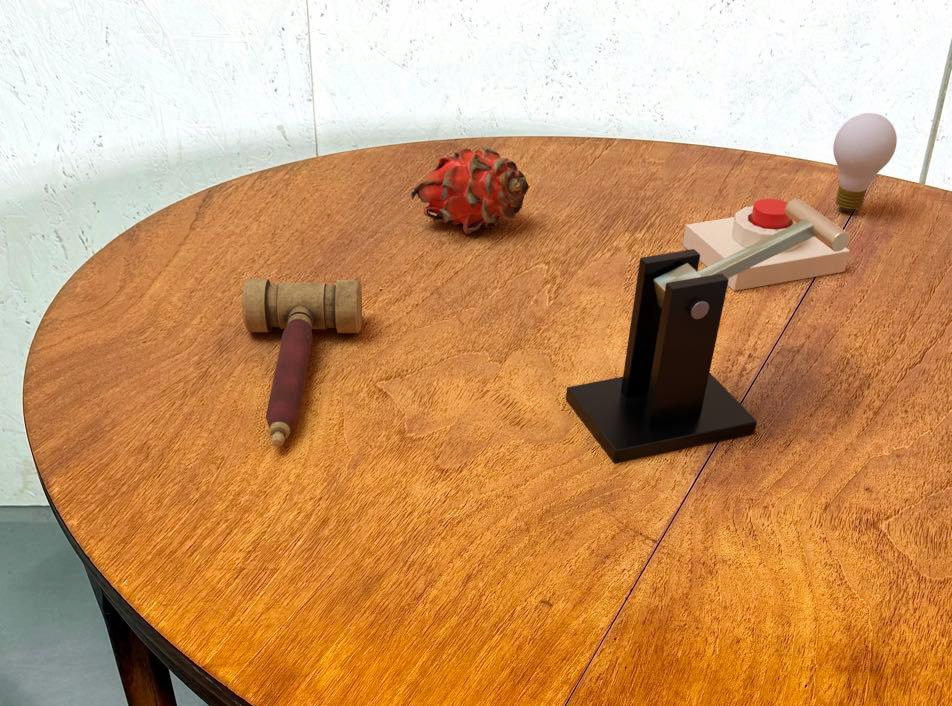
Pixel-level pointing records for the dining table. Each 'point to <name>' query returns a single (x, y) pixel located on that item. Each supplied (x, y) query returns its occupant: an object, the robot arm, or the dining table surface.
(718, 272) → the lever
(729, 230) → the button box
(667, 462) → the dining table surface
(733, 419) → the bracket
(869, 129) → the light bulb
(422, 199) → the dragon fruit
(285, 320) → the gavel
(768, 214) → the button
